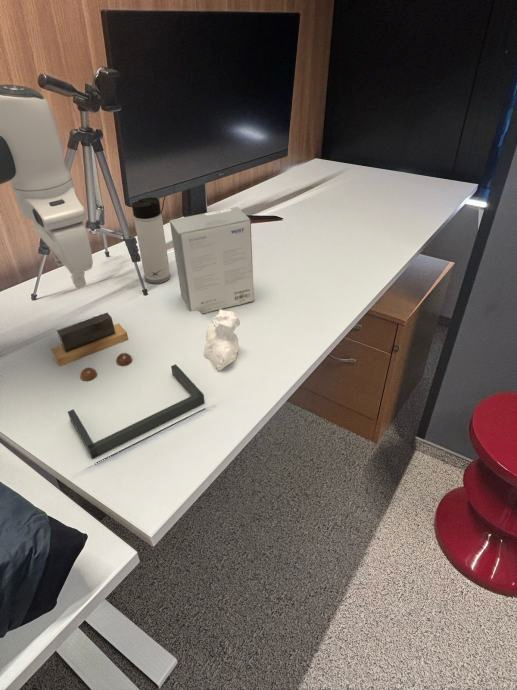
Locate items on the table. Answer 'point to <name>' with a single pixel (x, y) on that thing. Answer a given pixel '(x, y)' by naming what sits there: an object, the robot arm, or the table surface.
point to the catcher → (145, 424)
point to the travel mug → (151, 240)
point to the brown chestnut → (88, 374)
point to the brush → (87, 338)
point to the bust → (222, 339)
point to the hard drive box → (214, 259)
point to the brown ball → (124, 359)
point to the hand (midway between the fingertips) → (71, 274)
